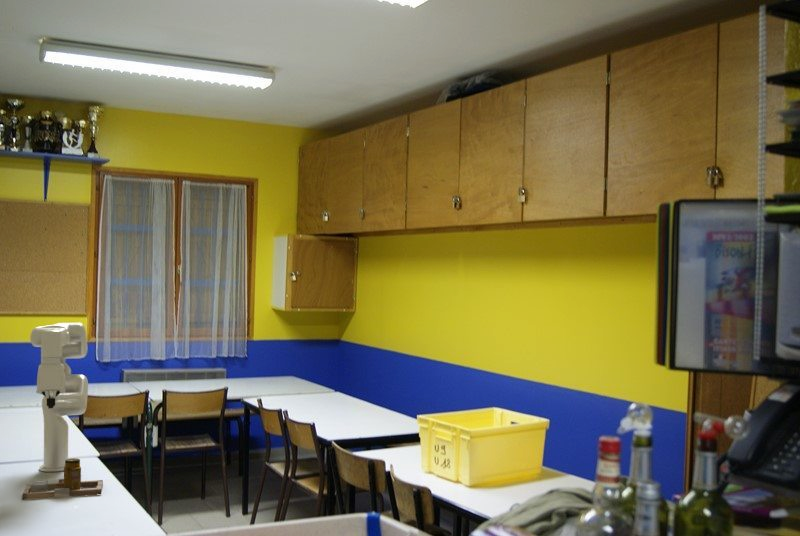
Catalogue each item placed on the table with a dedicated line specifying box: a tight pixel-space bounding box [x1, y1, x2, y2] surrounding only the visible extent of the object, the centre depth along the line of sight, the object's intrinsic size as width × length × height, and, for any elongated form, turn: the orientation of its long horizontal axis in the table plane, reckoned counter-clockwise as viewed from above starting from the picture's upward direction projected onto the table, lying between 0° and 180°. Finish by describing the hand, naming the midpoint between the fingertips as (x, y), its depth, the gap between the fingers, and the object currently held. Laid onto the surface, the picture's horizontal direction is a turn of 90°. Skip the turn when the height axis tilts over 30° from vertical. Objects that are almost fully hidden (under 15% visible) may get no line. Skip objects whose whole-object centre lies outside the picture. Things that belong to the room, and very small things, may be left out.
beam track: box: [21, 478, 104, 501], centre depth 313 cm, size 16×27×4 cm, turn 107°
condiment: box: [63, 457, 82, 490], centre depth 314 cm, size 7×8×12 cm
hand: (50, 407), depth 328 cm, fingers closed
